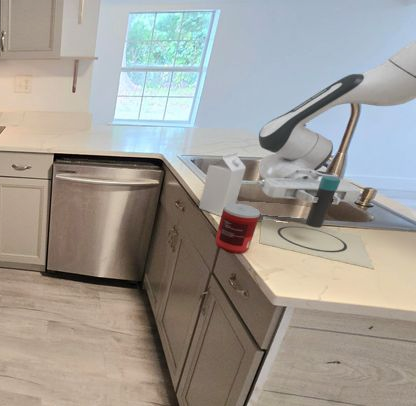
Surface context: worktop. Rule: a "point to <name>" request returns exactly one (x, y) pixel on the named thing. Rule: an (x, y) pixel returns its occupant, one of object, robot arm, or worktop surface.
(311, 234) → the paper pad
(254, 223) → the canned food
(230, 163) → the milk carton
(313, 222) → the marker
